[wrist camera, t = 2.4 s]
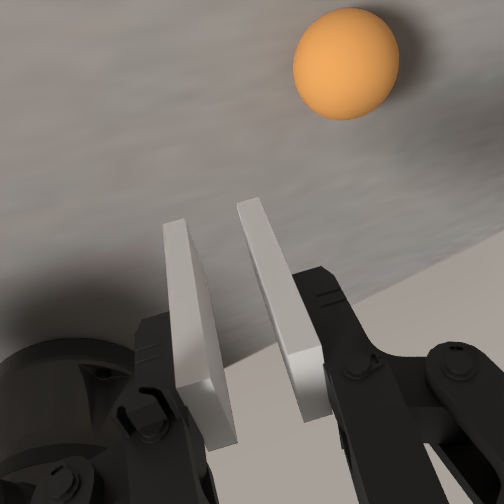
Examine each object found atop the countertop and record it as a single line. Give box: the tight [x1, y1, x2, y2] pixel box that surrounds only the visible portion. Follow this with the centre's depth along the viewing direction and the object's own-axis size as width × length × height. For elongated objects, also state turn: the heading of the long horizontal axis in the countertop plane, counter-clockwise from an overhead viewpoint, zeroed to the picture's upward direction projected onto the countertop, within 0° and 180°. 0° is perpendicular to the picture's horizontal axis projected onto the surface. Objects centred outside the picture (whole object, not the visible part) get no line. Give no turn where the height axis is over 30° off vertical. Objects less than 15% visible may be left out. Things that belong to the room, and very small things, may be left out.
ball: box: [293, 8, 399, 120], centre depth 27 cm, size 6×6×6 cm
